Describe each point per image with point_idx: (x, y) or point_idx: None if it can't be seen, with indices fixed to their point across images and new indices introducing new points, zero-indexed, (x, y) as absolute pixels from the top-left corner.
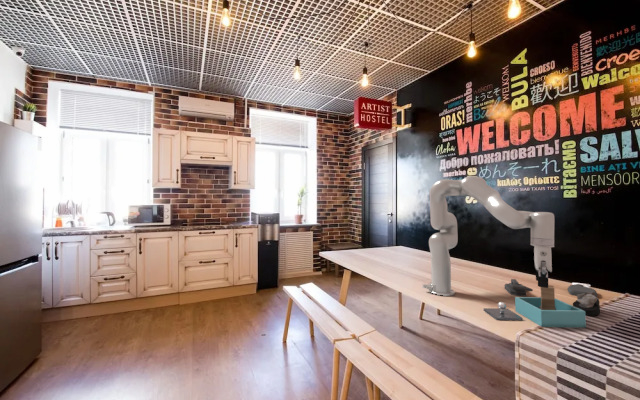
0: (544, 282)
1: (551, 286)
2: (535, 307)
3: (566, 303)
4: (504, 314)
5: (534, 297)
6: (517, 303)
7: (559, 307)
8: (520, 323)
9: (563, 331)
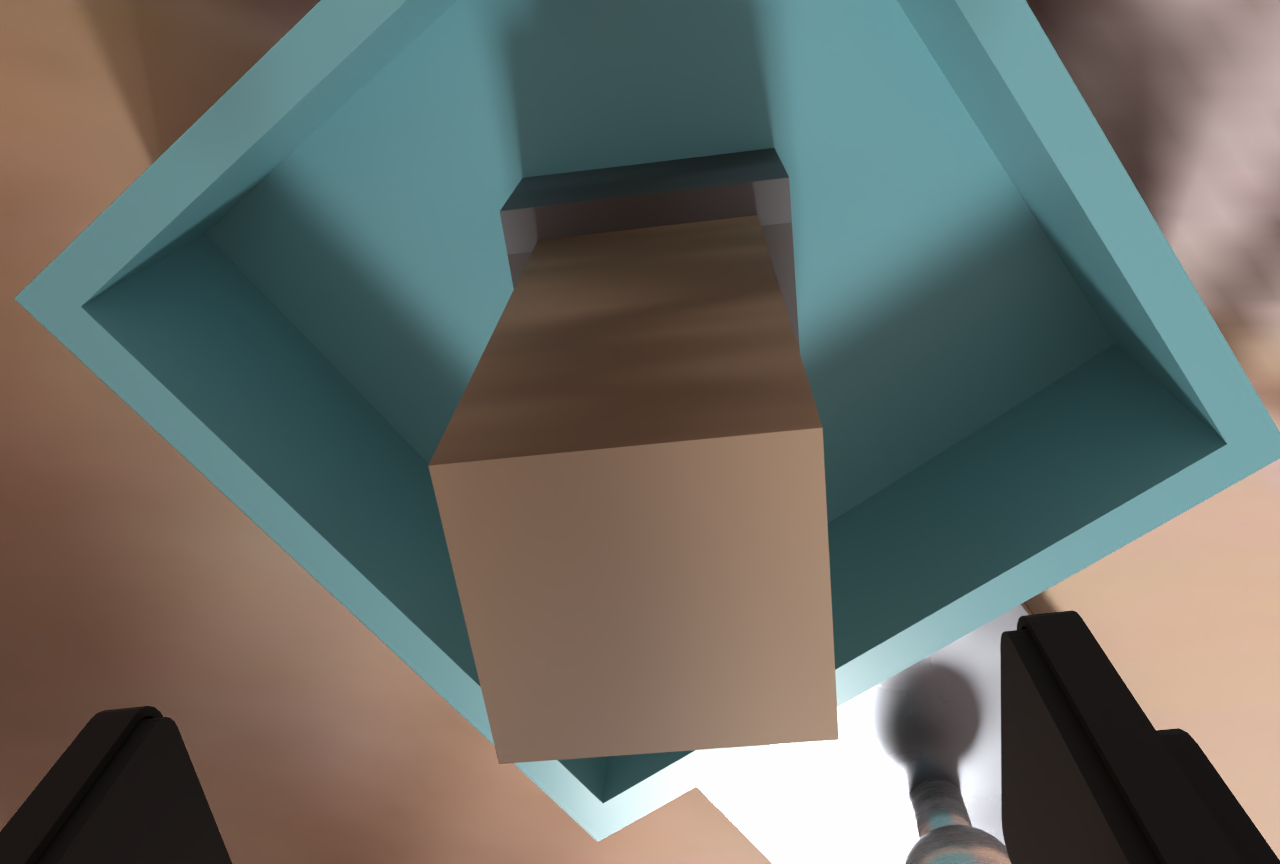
0: (1235, 841)
1: (575, 507)
2: (1103, 544)
3: (325, 23)
4: (988, 769)
5: (345, 596)
6: None
7: (282, 146)
8: (1143, 571)
9: (1188, 45)
